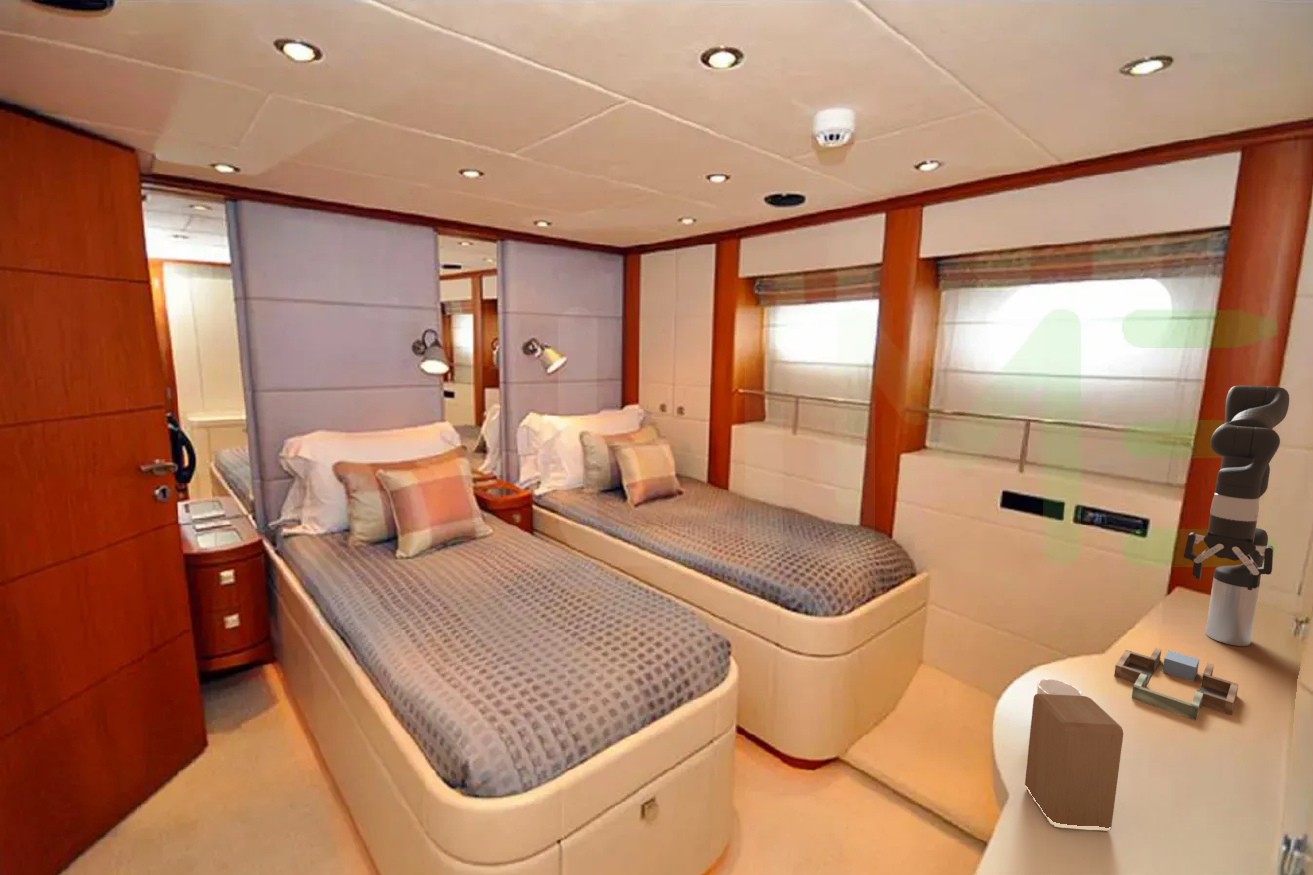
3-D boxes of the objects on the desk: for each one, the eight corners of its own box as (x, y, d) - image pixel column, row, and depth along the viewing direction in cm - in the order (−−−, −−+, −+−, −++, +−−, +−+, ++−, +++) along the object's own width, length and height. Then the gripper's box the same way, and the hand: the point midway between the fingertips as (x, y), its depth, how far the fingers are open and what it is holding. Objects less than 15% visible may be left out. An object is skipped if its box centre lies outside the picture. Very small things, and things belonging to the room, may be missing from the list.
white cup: (1070, 724, 129) (1074, 682, 128) (1082, 746, 122) (1087, 703, 121) (1029, 717, 132) (1033, 676, 130) (1039, 738, 125) (1043, 695, 123)
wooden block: (1077, 791, 110) (1089, 693, 107) (1113, 834, 100) (1127, 728, 97) (1022, 787, 111) (1031, 690, 108) (1051, 830, 101) (1063, 725, 98)
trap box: (1130, 650, 160) (1132, 640, 160) (1239, 683, 144) (1241, 672, 144) (1105, 688, 143) (1107, 677, 142) (1226, 731, 127) (1228, 718, 126)
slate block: (1166, 664, 154) (1168, 650, 153) (1197, 673, 149) (1199, 659, 149) (1162, 672, 150) (1164, 657, 149) (1193, 682, 146) (1195, 667, 145)
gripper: (1280, 518, 128) (1269, 588, 130) (1193, 505, 138) (1184, 570, 141) (1278, 525, 123) (1266, 598, 125) (1188, 511, 133) (1179, 578, 136)
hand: (1223, 583), depth 133 cm, fingers open, 8 cm apart
